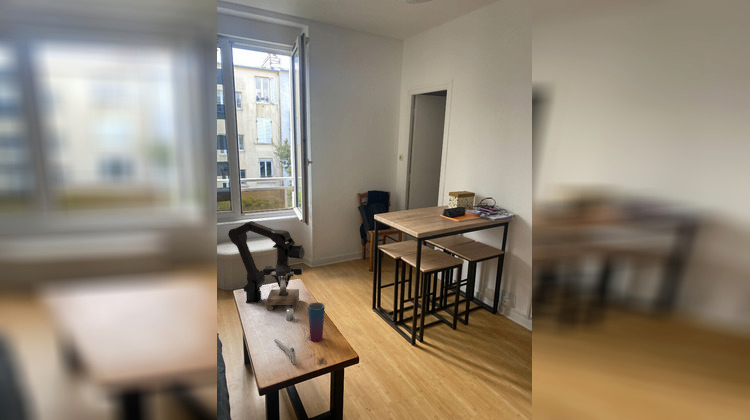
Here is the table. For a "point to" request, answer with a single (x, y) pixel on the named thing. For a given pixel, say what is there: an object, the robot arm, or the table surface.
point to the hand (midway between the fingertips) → (283, 286)
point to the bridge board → (283, 298)
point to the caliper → (287, 351)
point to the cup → (316, 321)
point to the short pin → (290, 314)
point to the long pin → (283, 285)
